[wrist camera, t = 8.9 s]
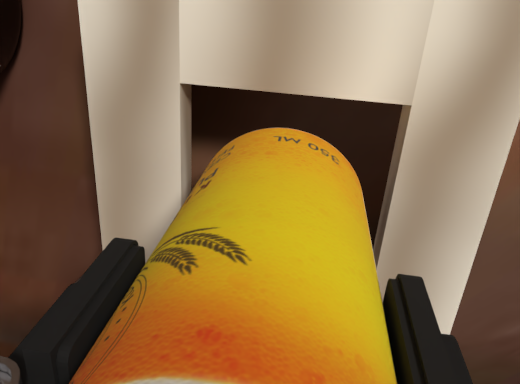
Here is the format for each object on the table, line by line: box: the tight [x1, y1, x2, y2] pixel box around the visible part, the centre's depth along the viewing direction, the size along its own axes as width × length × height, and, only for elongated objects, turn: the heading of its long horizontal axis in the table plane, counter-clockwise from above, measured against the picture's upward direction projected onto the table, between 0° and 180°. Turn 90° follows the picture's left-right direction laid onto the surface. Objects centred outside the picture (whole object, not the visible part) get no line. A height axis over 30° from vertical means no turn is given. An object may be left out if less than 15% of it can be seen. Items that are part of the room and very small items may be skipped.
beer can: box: [69, 128, 397, 384], centre depth 11 cm, size 6×6×15 cm
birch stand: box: [78, 0, 520, 335], centre depth 19 cm, size 15×15×5 cm
